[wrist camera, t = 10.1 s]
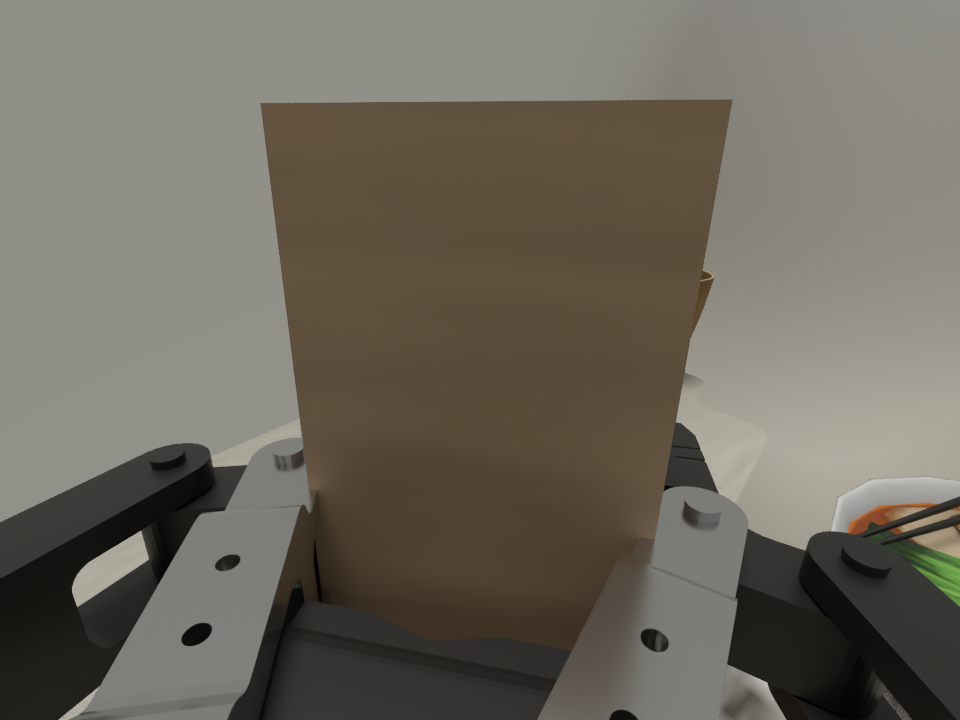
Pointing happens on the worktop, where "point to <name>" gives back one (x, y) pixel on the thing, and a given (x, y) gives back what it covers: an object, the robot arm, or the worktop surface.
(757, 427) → the worktop surface
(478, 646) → the robot arm
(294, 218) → the walnut block
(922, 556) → the ramen bowl
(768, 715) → the worktop surface
